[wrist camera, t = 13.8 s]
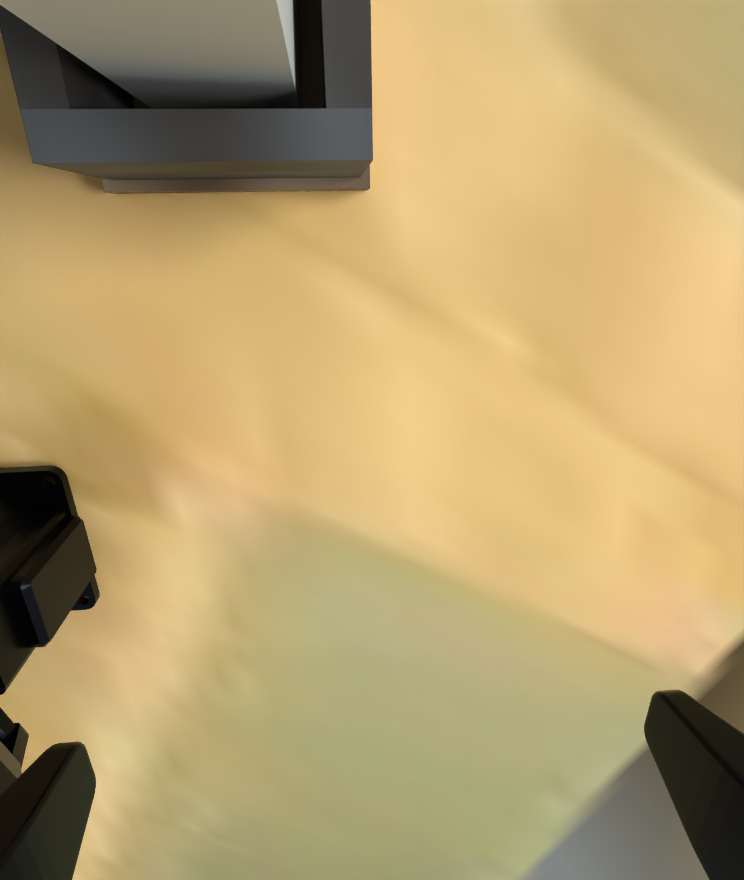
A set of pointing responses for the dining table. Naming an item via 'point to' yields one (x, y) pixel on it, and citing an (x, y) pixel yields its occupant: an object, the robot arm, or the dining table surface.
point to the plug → (182, 48)
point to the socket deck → (204, 118)
